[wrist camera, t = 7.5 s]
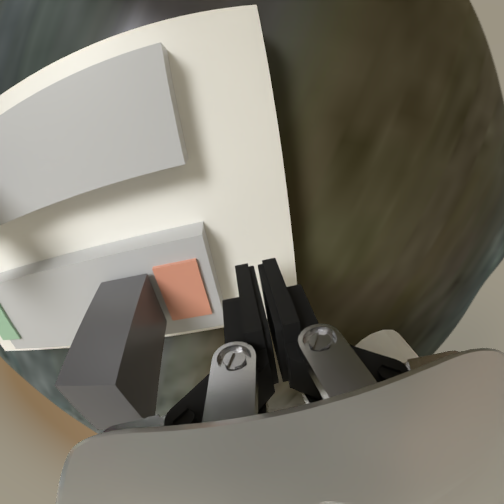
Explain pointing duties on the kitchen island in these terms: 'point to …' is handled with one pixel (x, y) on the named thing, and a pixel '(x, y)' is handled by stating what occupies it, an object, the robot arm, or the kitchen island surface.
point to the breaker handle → (116, 354)
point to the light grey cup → (388, 345)
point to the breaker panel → (141, 176)
